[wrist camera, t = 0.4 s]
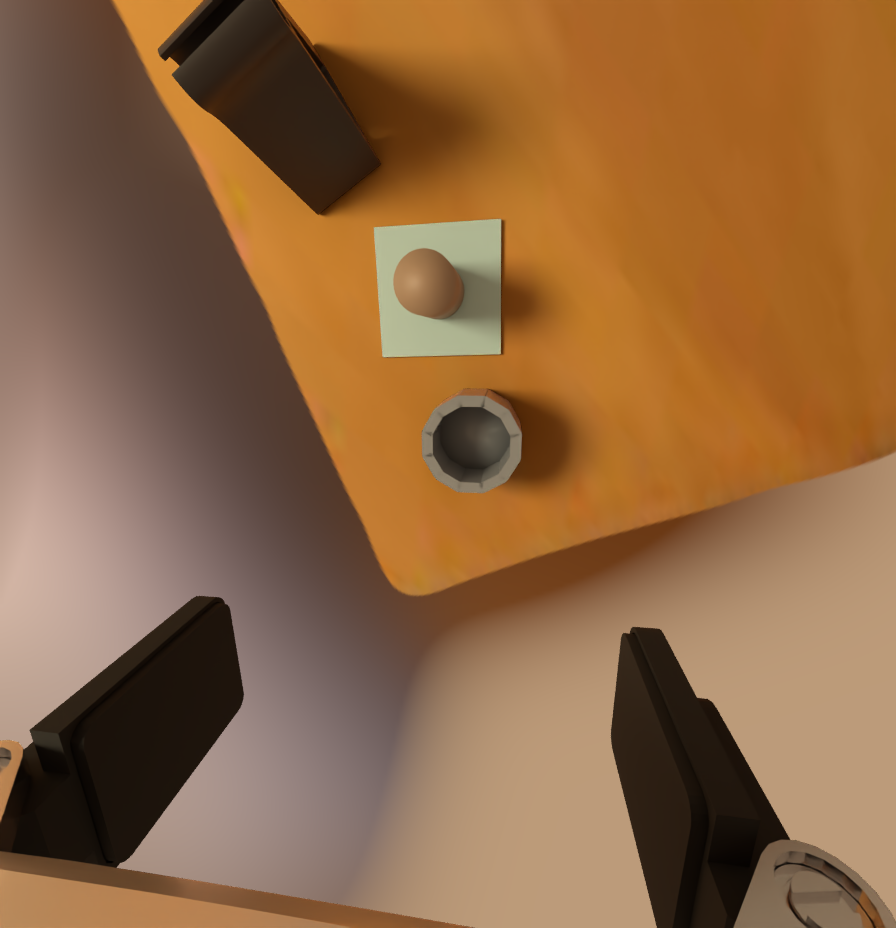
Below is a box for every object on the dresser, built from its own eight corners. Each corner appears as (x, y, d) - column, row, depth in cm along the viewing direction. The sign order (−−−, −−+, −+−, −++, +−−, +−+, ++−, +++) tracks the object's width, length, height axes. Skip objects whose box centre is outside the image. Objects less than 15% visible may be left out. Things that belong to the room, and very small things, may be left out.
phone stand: (382, 166, 32) (311, 71, 21) (318, 216, 34) (220, 153, 22) (312, 43, 31) (195, -133, 19) (249, 101, 32) (105, -30, 21)
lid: (376, 229, 34) (345, 204, 27) (501, 221, 32) (499, 192, 26) (384, 356, 36) (358, 360, 30) (500, 353, 35) (498, 357, 29)
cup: (431, 388, 36) (421, 395, 32) (521, 389, 35) (523, 396, 31) (432, 473, 38) (422, 490, 34) (518, 476, 37) (519, 494, 33)
